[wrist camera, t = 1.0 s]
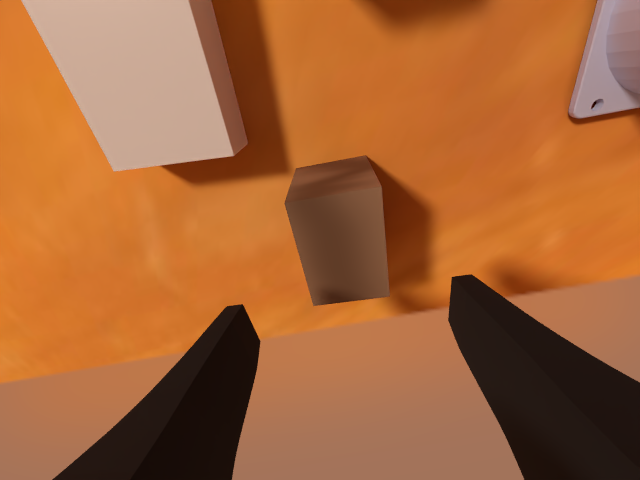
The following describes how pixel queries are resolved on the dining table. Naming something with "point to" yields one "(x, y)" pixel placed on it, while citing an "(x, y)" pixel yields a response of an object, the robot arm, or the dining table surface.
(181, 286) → the dining table surface
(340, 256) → the walnut brick
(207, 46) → the pale grey brick
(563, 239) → the dining table surface
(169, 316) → the dining table surface
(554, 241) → the dining table surface
